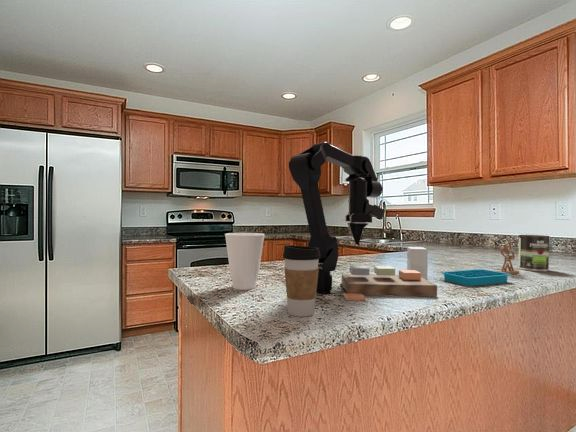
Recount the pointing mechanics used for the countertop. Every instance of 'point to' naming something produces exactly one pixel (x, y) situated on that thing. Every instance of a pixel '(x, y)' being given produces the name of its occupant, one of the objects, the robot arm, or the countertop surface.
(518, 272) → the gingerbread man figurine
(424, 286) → the wooden sorting tray
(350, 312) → the countertop surface
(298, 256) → the coffee cup
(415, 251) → the small box
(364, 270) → the slate button
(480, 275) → the ice cube tray
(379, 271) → the sage button
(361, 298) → the tile
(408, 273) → the terracotta button
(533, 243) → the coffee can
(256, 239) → the cup
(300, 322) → the countertop surface
